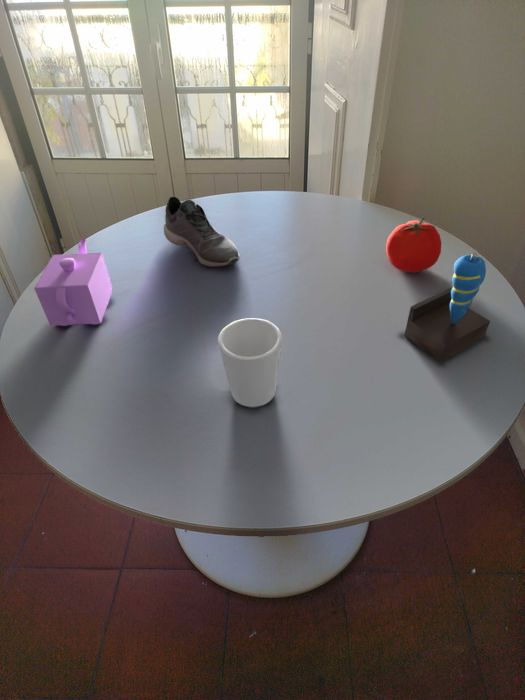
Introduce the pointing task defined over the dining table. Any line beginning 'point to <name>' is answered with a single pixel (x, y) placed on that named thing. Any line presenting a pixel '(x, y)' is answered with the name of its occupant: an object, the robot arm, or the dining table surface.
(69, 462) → the dining table surface
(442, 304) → the shelf
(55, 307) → the teapot
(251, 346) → the cup
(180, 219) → the athletic shoe
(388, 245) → the tomato
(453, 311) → the ornament
